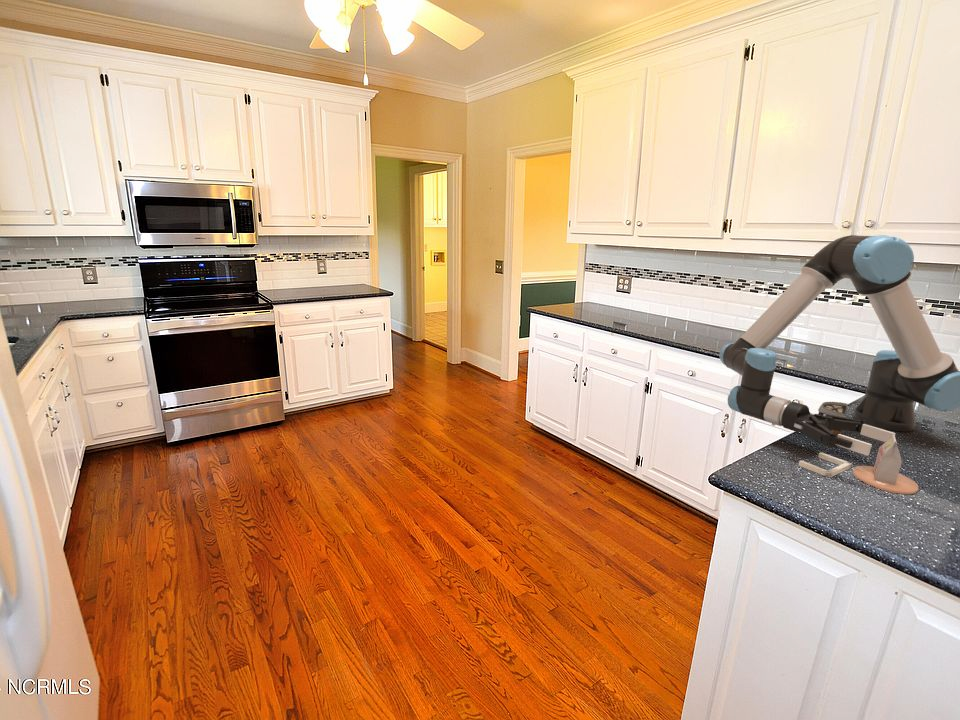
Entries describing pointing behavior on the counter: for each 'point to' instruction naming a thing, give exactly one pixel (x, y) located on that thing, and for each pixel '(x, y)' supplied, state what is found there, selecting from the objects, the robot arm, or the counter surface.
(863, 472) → the saucer
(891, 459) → the tea bag
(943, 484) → the counter surface
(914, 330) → the robot arm
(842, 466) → the holder
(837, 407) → the food container
